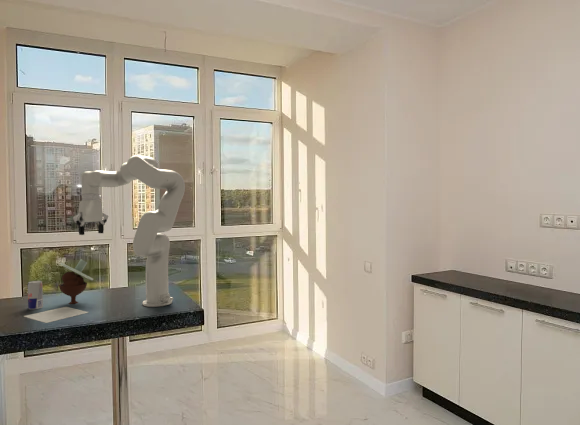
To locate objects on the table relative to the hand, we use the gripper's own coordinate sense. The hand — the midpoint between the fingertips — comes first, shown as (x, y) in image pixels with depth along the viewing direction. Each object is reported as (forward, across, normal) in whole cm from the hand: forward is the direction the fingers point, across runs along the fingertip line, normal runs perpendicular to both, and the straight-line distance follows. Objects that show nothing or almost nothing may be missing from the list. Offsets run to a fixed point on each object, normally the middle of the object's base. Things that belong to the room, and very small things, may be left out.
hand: (91, 234), depth 198 cm
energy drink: (+31, +26, 0) cm, 40 cm away
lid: (+16, +12, +6) cm, 21 cm away
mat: (+30, +27, +18) cm, 44 cm away
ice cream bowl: (+31, +13, +6) cm, 34 cm away
